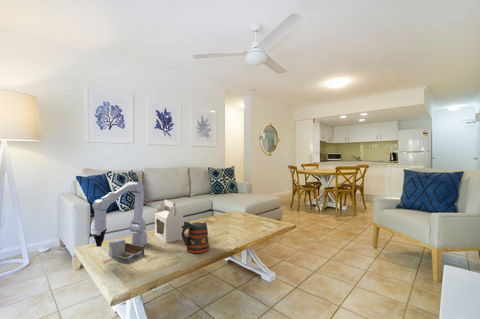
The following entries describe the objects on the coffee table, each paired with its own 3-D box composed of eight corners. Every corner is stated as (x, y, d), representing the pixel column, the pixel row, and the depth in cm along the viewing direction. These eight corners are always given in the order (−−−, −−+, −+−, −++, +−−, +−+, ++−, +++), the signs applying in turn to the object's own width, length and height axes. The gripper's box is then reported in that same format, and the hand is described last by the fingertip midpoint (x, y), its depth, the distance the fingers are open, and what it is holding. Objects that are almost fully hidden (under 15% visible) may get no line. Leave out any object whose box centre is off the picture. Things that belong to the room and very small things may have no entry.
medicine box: (122, 251, 144) (122, 238, 144) (125, 253, 141) (125, 239, 141) (108, 255, 138) (108, 241, 138) (111, 257, 135) (111, 243, 135)
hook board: (120, 249, 147) (120, 241, 147) (144, 255, 139) (144, 246, 139) (101, 257, 136) (101, 248, 136) (126, 263, 127) (126, 254, 127)
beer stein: (189, 258, 135) (190, 224, 135) (176, 251, 145) (176, 220, 145) (213, 249, 149) (213, 219, 149) (199, 243, 159) (199, 215, 159)
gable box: (183, 239, 168) (183, 201, 168) (165, 243, 159) (166, 203, 159) (170, 232, 185) (171, 198, 185) (154, 235, 176) (155, 199, 176)
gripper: (94, 218, 135) (93, 241, 135) (89, 224, 122) (89, 249, 122) (107, 217, 138) (107, 239, 138) (105, 223, 125) (104, 247, 124)
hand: (100, 244), depth 130 cm, fingers open, 7 cm apart
